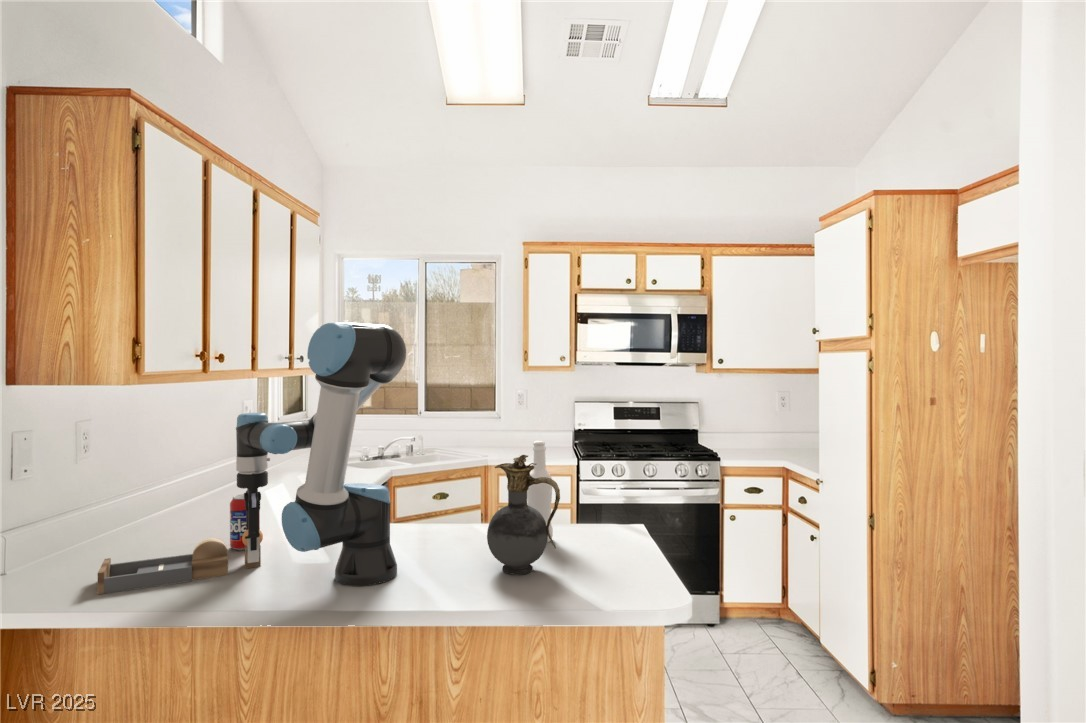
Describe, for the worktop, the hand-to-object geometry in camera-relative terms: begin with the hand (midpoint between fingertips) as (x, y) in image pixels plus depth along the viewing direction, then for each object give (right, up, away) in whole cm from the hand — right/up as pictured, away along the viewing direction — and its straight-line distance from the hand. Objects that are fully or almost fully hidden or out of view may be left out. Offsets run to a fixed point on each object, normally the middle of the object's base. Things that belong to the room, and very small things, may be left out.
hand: (252, 558), depth 168 cm
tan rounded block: (-9, -2, -5) cm, 10 cm away
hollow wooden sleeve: (0, -2, 0) cm, 2 cm away
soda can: (-9, -2, +15) cm, 18 cm away
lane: (-20, -2, -11) cm, 23 cm away
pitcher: (+72, -2, -4) cm, 72 cm away
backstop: (-29, -2, -15) cm, 33 cm away
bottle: (+76, -2, +23) cm, 79 cm away
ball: (0, +6, 0) cm, 6 cm away
